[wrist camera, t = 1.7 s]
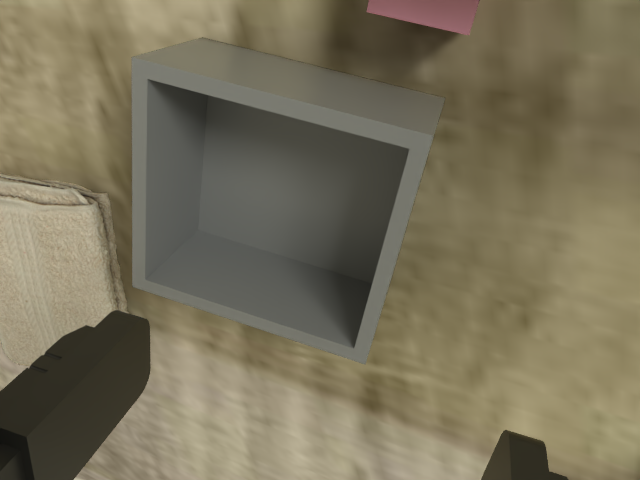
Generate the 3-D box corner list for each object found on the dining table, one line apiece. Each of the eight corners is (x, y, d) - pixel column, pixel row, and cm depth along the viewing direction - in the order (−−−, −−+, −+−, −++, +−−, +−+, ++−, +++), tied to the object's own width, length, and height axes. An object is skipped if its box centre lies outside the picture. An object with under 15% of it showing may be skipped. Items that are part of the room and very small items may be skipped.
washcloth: (113, 179, 37) (84, 197, 34) (148, 376, 46) (127, 402, 43) (-26, 162, 40) (-62, 176, 37) (32, 350, 48) (5, 373, 46)
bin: (202, 37, 30) (131, 57, 24) (445, 98, 28) (433, 136, 22) (190, 233, 37) (132, 286, 31) (386, 294, 35) (365, 364, 29)
